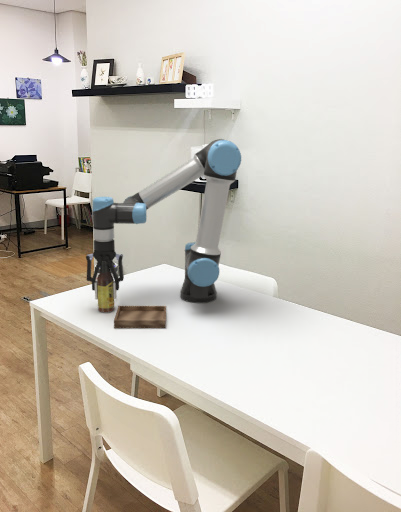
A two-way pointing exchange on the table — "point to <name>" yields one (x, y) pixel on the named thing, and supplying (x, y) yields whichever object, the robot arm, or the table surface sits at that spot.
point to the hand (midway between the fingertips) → (106, 298)
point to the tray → (140, 317)
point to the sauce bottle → (105, 288)
